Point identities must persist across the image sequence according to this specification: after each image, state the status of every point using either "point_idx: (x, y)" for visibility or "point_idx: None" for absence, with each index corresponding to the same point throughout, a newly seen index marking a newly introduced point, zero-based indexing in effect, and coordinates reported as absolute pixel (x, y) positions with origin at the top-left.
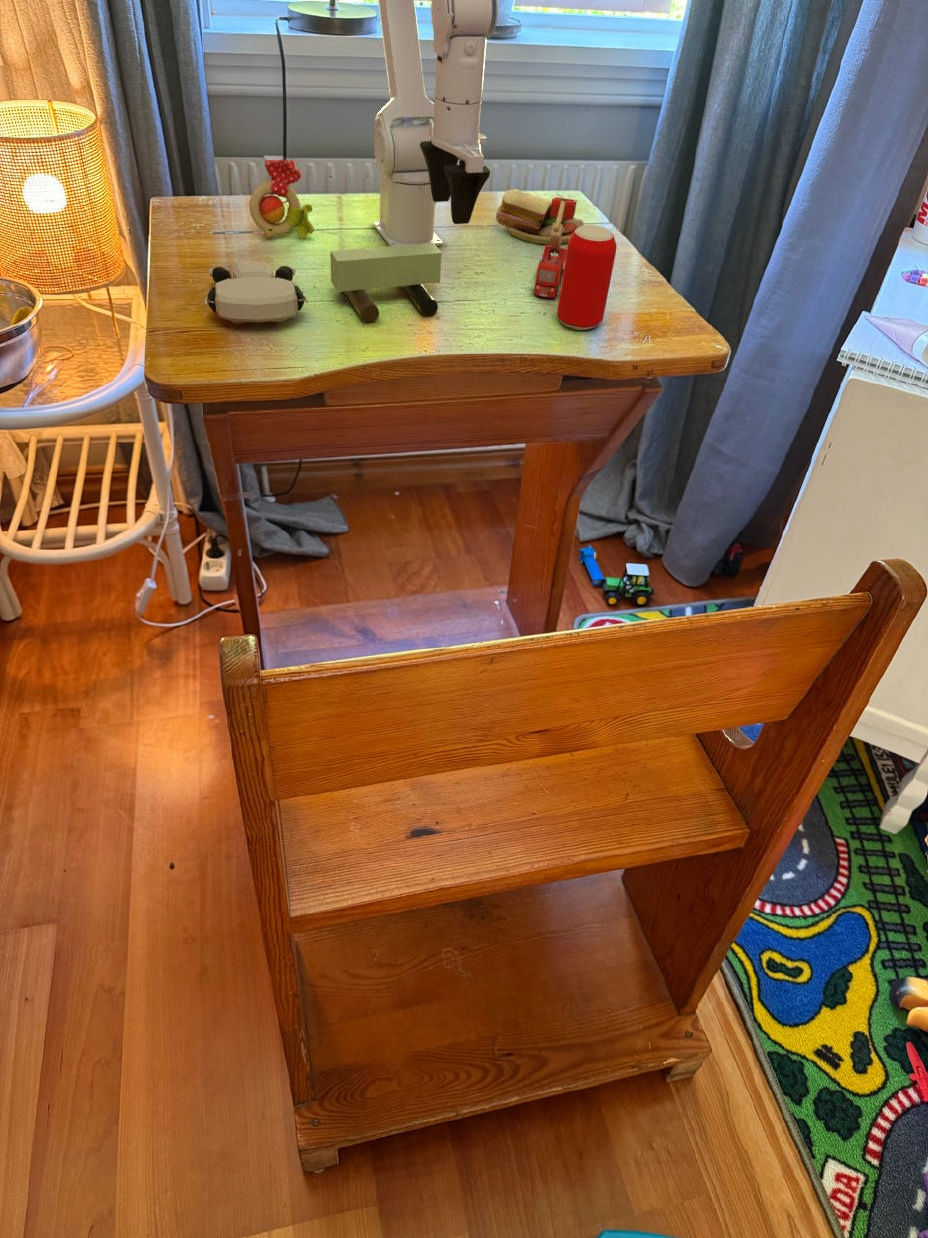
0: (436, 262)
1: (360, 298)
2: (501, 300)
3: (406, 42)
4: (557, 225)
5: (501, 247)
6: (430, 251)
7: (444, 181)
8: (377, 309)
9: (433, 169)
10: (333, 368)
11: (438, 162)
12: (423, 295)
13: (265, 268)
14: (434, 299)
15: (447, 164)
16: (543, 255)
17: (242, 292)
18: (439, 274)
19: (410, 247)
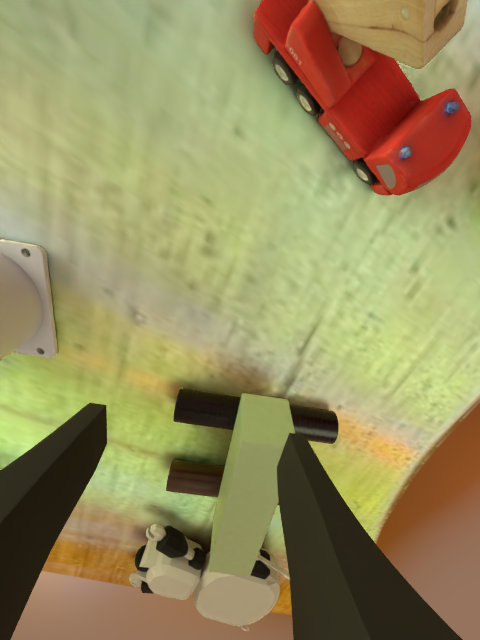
0: None
1: (277, 504)
2: (344, 275)
3: None
4: None
5: (66, 74)
6: None
7: (64, 481)
8: None
9: (36, 575)
10: (372, 537)
11: (6, 604)
12: (316, 439)
13: (182, 582)
14: (331, 426)
15: (7, 560)
16: (330, 84)
17: (244, 613)
18: (290, 412)
19: (246, 484)
